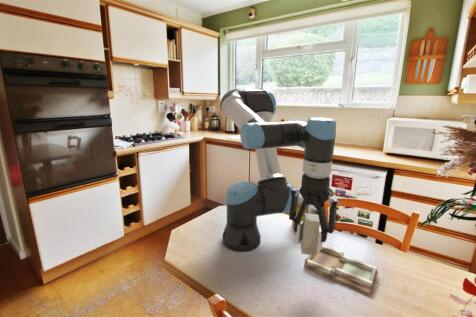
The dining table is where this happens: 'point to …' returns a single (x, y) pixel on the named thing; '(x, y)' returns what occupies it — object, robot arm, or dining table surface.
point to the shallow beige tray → (342, 269)
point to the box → (310, 234)
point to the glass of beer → (299, 208)
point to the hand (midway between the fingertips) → (308, 245)
